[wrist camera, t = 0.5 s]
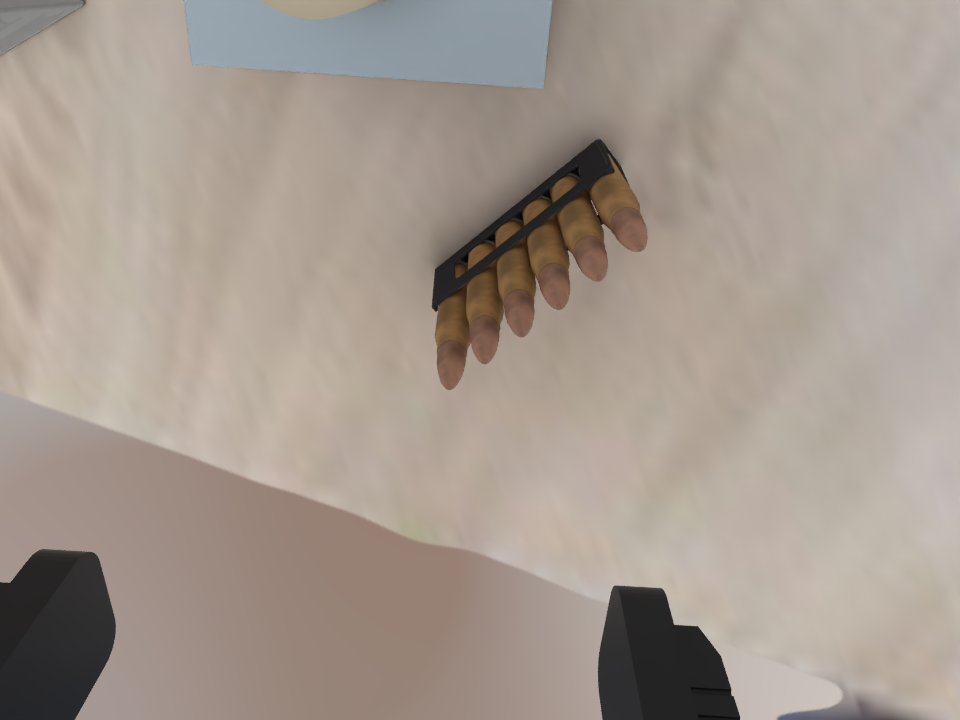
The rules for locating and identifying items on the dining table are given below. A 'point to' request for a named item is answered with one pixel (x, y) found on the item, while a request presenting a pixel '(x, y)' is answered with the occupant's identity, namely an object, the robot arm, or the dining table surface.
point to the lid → (377, 38)
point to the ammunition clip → (532, 257)
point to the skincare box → (30, 18)
